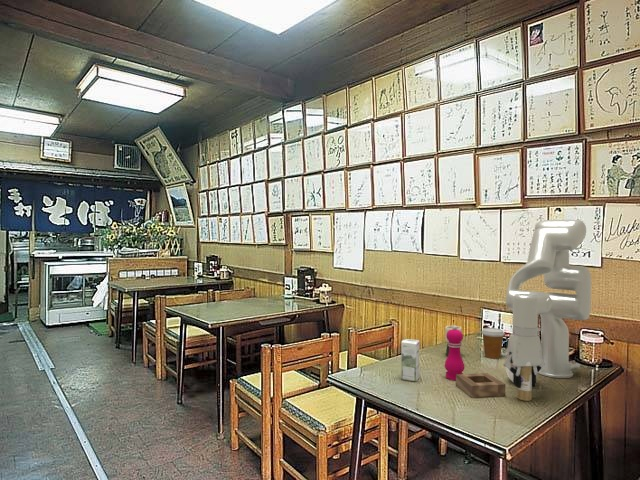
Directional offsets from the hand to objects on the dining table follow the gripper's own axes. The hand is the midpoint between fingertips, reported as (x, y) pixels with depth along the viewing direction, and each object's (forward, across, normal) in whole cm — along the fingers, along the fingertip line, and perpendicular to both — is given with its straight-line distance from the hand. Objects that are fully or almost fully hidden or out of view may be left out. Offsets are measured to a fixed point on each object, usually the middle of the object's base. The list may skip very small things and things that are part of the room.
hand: (524, 385), depth 145 cm
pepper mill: (+5, +14, -23) cm, 27 cm away
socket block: (+4, +11, -9) cm, 15 cm away
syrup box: (+5, +31, -24) cm, 39 cm away
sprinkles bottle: (+5, 0, 0) cm, 5 cm away
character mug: (+5, +2, -51) cm, 51 cm away
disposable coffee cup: (+5, -15, -48) cm, 50 cm away
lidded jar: (+5, -8, -15) cm, 18 cm away
